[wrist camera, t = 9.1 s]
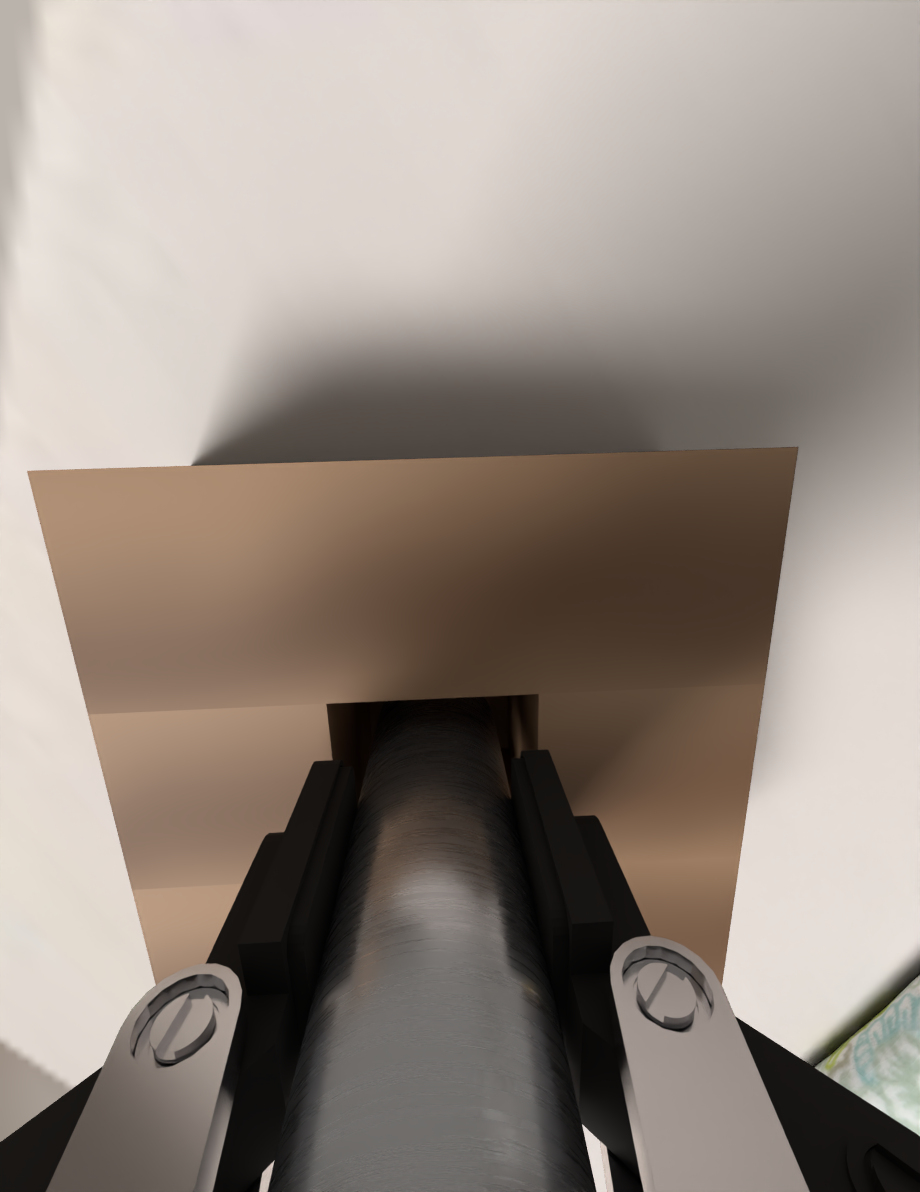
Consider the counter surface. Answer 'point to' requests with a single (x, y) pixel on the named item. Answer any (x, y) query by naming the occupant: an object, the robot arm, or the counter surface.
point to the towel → (885, 1059)
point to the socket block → (423, 649)
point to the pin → (433, 987)
